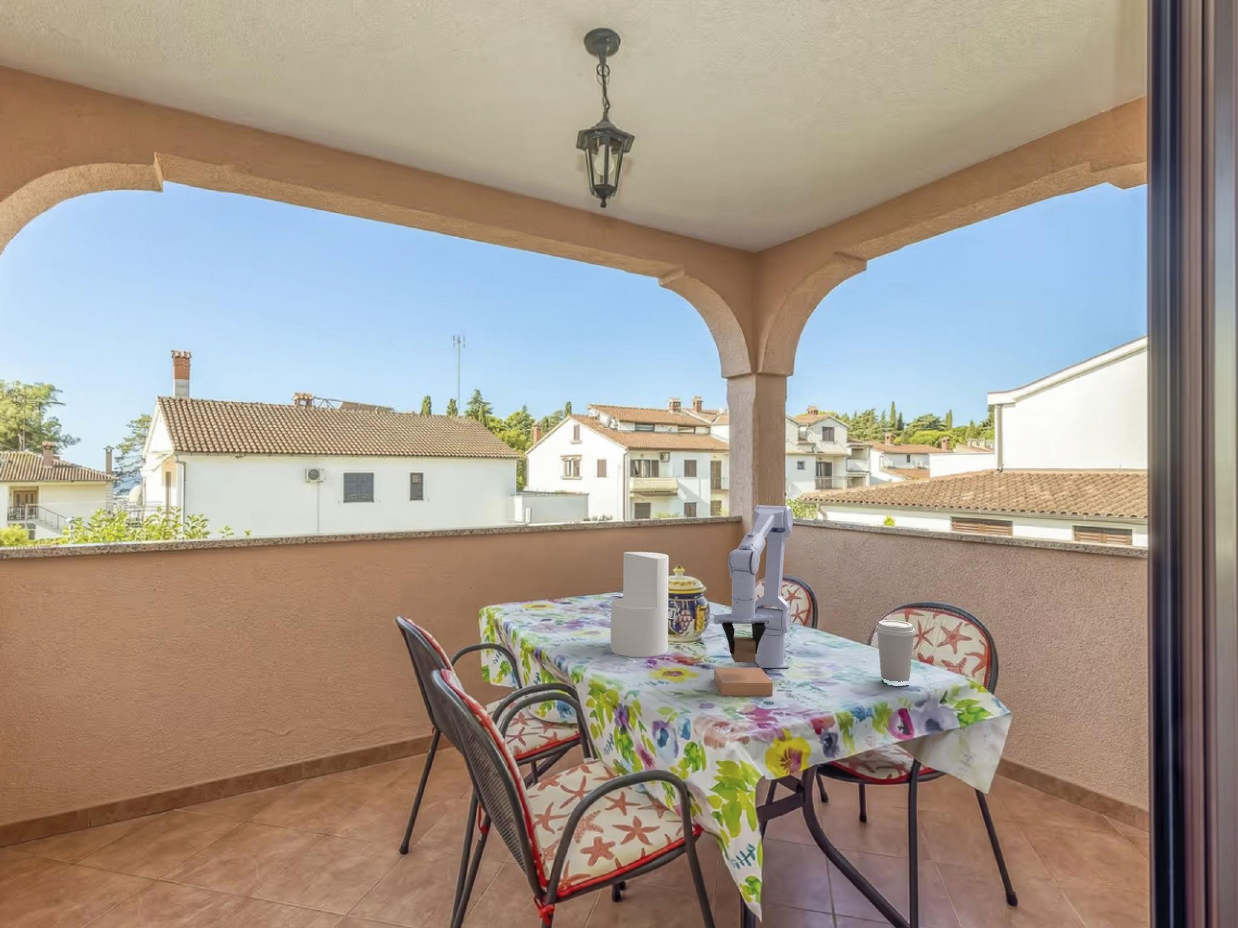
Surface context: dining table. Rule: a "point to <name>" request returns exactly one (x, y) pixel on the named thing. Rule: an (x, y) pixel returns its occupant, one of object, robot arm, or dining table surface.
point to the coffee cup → (895, 649)
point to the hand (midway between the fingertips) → (743, 652)
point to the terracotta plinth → (743, 682)
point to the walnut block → (744, 649)
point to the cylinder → (641, 607)
